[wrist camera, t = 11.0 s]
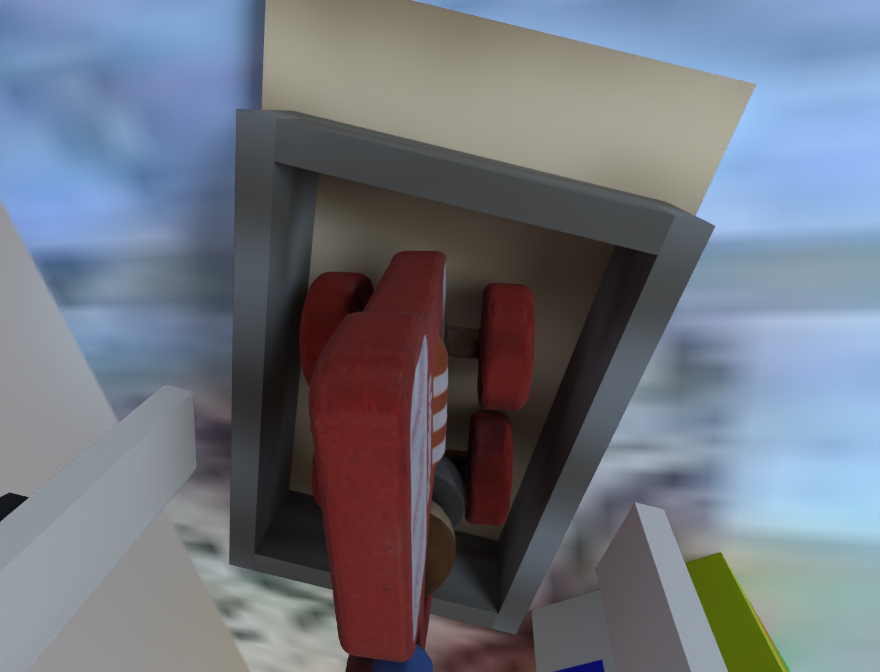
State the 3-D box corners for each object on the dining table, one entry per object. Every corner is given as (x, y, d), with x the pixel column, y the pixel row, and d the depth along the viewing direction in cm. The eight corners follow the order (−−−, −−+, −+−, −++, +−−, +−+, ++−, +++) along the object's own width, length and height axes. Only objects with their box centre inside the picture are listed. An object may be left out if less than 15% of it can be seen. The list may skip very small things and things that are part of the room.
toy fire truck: (347, 488, 21) (229, 786, 12) (331, 212, 16) (89, 357, 6) (500, 506, 20) (504, 833, 11) (538, 227, 15) (610, 408, 6)
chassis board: (281, -25, 14) (193, -84, 10) (738, 86, 14) (841, 73, 10) (254, 528, 24) (206, 610, 20) (512, 591, 24) (515, 686, 20)
